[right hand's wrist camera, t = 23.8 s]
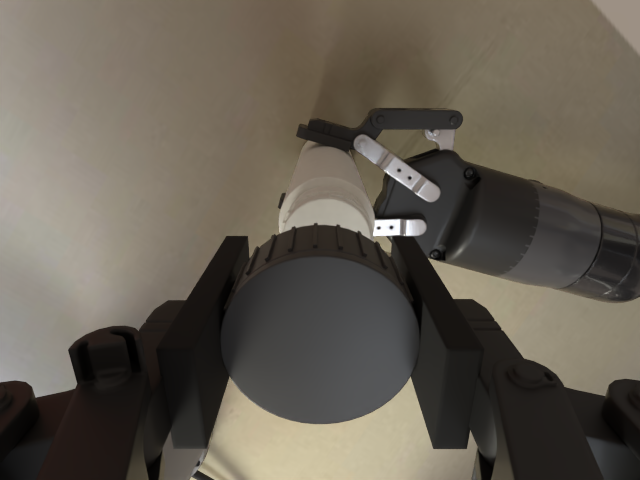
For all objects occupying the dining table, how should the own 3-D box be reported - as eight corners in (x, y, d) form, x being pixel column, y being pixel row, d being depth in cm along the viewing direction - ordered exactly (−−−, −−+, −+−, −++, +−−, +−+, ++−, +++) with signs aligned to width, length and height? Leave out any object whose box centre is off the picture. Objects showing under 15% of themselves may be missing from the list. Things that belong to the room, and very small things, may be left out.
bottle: (345, 190, 36) (367, 295, 18) (295, 180, 35) (266, 279, 18) (356, 138, 34) (392, 198, 16) (304, 128, 34) (281, 178, 16)
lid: (426, 239, 12) (450, 274, 9) (381, 383, 14) (393, 439, 11) (246, 205, 11) (228, 233, 9) (225, 358, 13) (207, 411, 11)
